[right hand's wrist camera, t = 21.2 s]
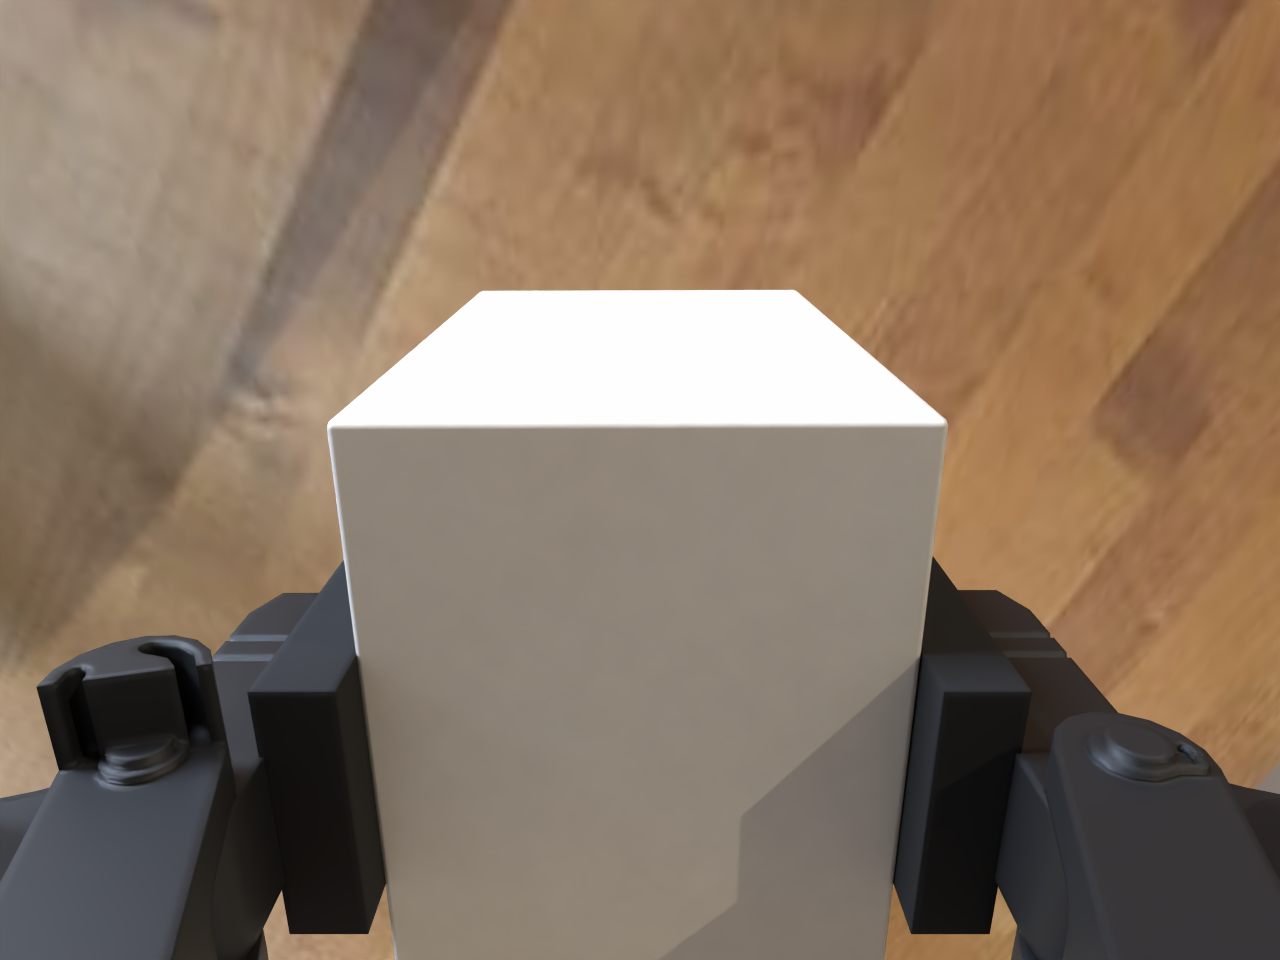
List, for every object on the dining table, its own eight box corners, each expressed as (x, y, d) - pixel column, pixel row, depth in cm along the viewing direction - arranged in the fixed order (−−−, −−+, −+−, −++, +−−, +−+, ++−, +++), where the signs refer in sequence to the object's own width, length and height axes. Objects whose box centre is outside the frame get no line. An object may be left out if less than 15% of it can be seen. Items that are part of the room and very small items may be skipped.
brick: (775, 670, 17) (875, 1047, 10) (503, 671, 17) (404, 1048, 10) (797, 289, 15) (951, 420, 7) (479, 290, 15) (323, 422, 7)
